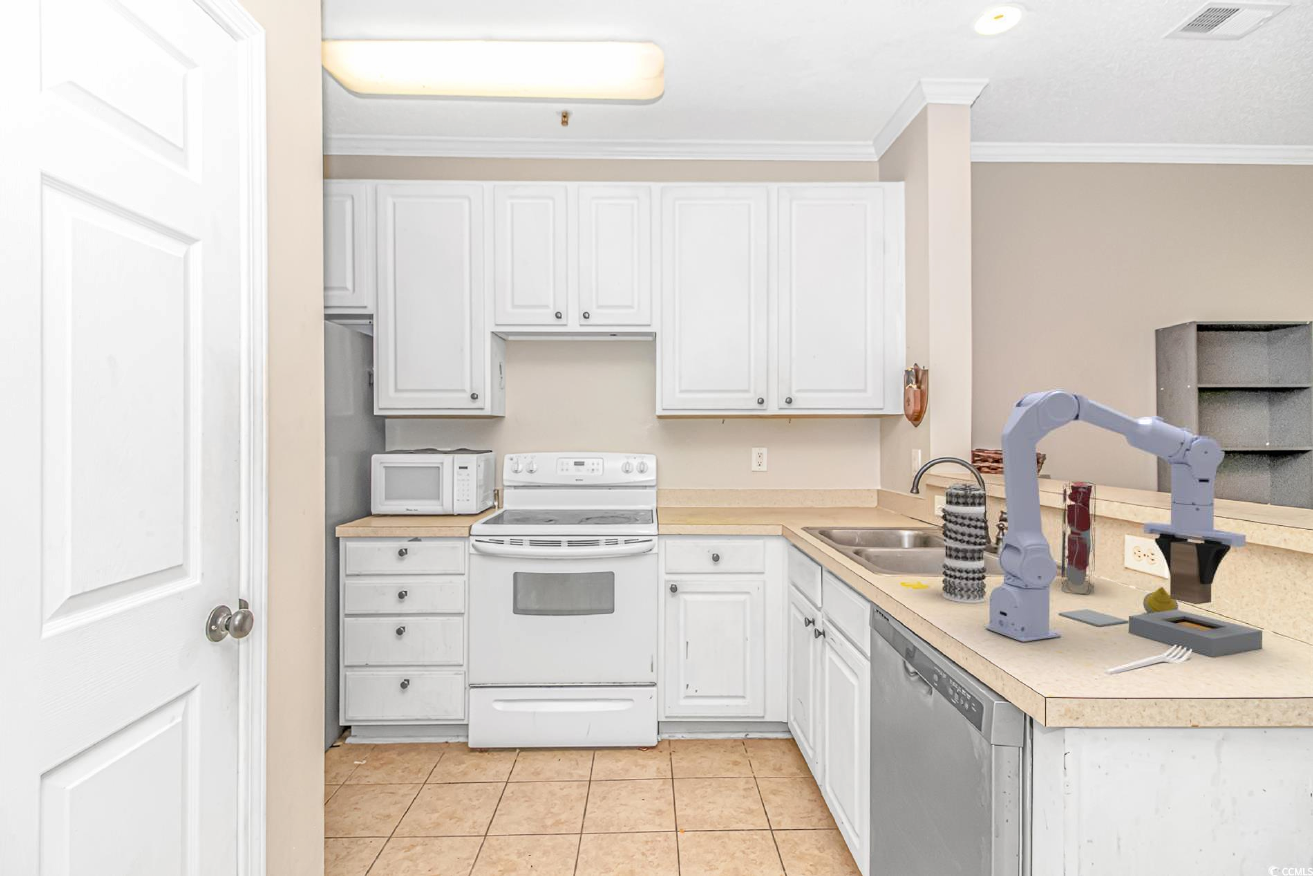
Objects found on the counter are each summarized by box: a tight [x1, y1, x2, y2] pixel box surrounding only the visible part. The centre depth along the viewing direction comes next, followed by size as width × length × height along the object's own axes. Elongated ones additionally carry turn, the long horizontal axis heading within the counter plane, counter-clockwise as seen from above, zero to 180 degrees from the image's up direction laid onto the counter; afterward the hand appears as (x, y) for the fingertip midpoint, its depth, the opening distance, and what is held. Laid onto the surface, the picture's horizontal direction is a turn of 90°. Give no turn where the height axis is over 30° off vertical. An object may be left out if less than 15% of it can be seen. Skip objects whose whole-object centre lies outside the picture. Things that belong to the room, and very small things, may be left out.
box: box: [1061, 481, 1097, 596], centre depth 142 cm, size 25×6×24 cm, turn 144°
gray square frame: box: [1128, 609, 1263, 658], centre depth 109 cm, size 13×13×3 cm
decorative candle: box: [941, 482, 989, 604], centre depth 136 cm, size 9×9×25 cm
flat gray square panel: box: [1058, 608, 1129, 628], centre depth 121 cm, size 8×8×1 cm
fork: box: [1104, 645, 1193, 676], centre depth 98 cm, size 3×20×2 cm, turn 113°
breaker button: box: [1175, 622, 1211, 631], centre depth 109 cm, size 6×6×1 cm
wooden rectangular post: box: [1169, 540, 1212, 605], centre depth 109 cm, size 4×4×10 cm
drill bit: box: [1142, 586, 1179, 614], centre depth 122 cm, size 5×5×10 cm
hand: (1191, 580), depth 109 cm, fingers closed on wooden rectangular post, 4 cm apart
